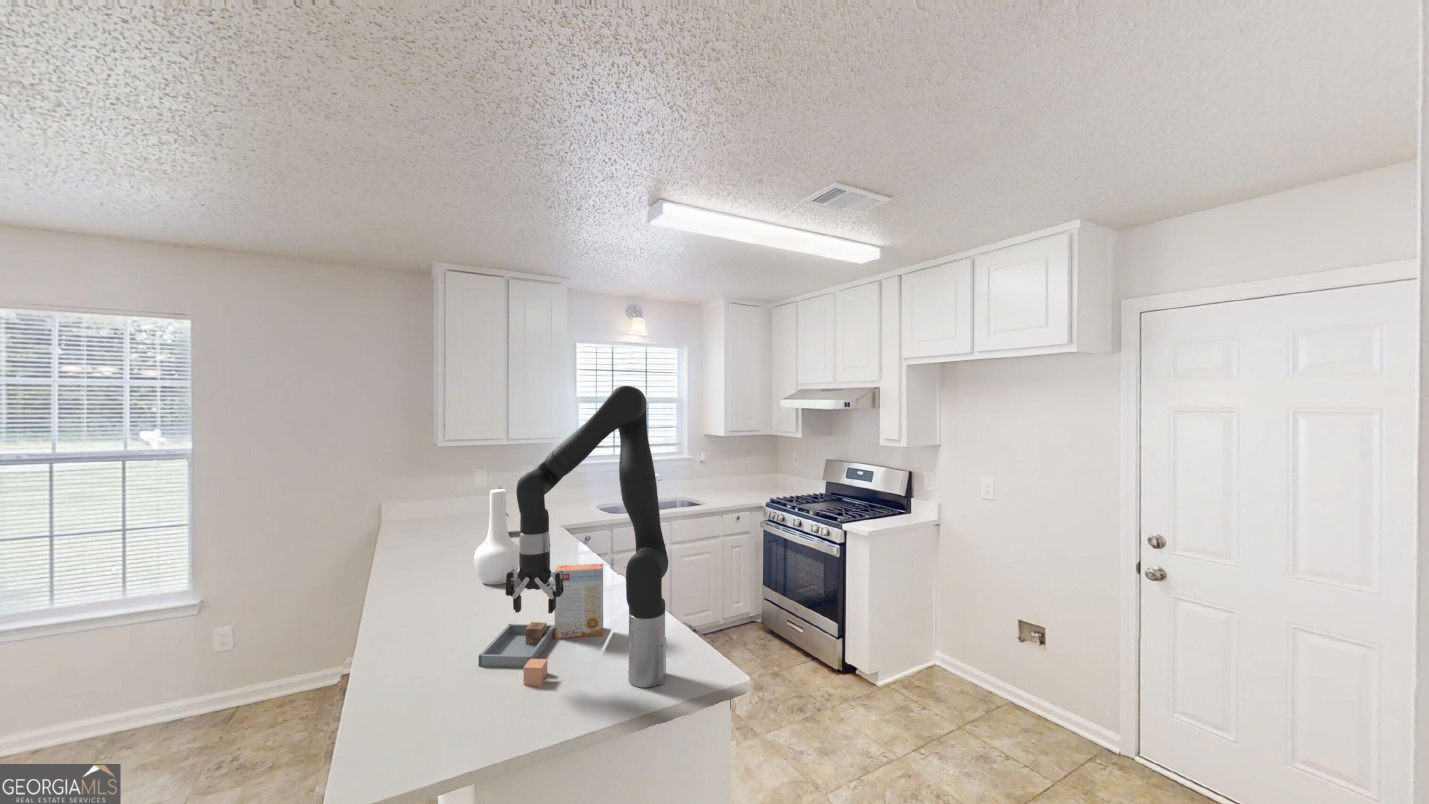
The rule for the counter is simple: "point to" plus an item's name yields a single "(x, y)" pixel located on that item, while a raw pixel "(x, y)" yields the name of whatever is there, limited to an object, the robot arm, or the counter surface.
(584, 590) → the cracker box
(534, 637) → the walnut cube
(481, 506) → the counter surface
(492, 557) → the vase
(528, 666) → the terracotta cube
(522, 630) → the slate tray
